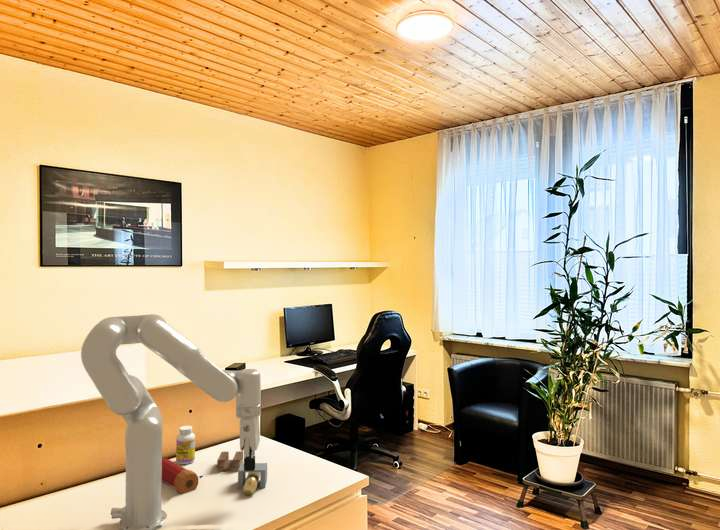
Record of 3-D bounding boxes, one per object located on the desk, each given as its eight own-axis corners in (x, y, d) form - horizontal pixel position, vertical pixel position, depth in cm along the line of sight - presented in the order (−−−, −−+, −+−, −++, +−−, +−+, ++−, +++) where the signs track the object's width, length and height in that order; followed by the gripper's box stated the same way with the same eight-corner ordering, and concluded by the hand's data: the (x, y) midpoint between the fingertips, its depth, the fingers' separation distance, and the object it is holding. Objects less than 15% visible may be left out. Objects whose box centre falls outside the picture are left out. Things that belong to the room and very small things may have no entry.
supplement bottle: (172, 464, 188) (172, 429, 188) (183, 457, 194) (183, 424, 194) (187, 466, 186) (188, 431, 186) (198, 459, 192) (198, 425, 192)
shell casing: (179, 498, 161) (179, 476, 161) (152, 479, 175) (152, 458, 175) (199, 491, 166) (199, 470, 166) (171, 473, 180) (171, 453, 180)
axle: (255, 495, 161) (255, 483, 161) (242, 495, 161) (243, 483, 161) (260, 477, 175) (261, 465, 175) (249, 477, 175) (249, 465, 175)
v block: (217, 474, 179) (217, 460, 179) (221, 465, 187) (221, 451, 187) (239, 473, 180) (239, 459, 180) (243, 464, 188) (243, 451, 188)
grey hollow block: (265, 490, 167) (265, 470, 167) (237, 491, 166) (238, 470, 166) (267, 482, 173) (267, 462, 173) (240, 483, 172) (241, 463, 172)
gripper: (257, 417, 149) (259, 479, 149) (263, 403, 164) (264, 459, 164) (231, 418, 148) (233, 481, 148) (240, 403, 163) (241, 460, 163)
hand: (249, 469), depth 156 cm, fingers closed
